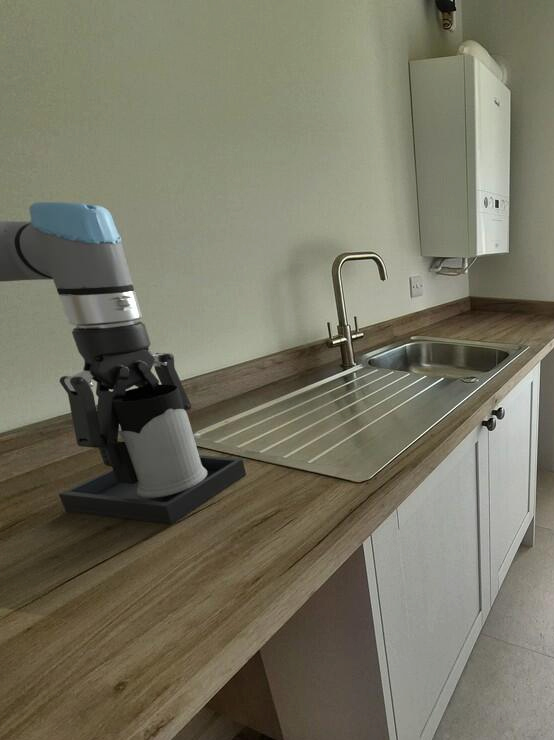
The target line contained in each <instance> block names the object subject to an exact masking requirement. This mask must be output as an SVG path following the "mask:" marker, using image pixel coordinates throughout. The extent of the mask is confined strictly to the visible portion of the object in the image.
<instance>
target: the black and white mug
mask: <svg viewBox="0 0 554 740" xmlns="http://www.w3.org/2000/svg"><path fill="white" fill-rule="evenodd" d="M159 388H160V392H161V395H162V396H158V397H155V396H154V395H153V394H151V393H150V392H149V391H148V390H147V389H145V388H144V387H139V388H138V387H135V388H129V389H126V393H125V396H124V397H123V398H122V402H121V401H114V400H112V402H113V405H114V408H115V411H116V414H117V416H118V419H119V431H118V436H120V438H121V439H122V442H125V444H126V447H127V450H128V453H129V456H130V459H131V462H132V465H133V468H134V471H135V473H136V476H137V479H138V488H137V493H138V495H139V496H142V497H146V498H154V497H162V496H167V495H172V494H175V493H178V492H181V491H184V490H186V489H189V488H191V487H193V486H194V485H196V484H198V483H199V482H201V481H202V480H203V479H204V478H205V477H206V476H207V470H206V469H205V468H204V467H203V466H202V464H201V461H200V457H199V455H200V454H199V451H198V447H197V444H196V441H195V437H194V434H193V430H192V426H191V422H190V418H189V415H188V413H187V410H186V411H185V410H184V406H183V403H182V399H181V396H180V392H179V389H178V386H176V385H171V384H161V383H160V384H159Z"/></svg>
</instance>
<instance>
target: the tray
mask: <svg viewBox="0 0 554 740" xmlns="http://www.w3.org/2000/svg"><path fill="white" fill-rule="evenodd" d="M199 457H200V461H201V464H202V466H203V467H204V468H205V469H206V470H207V476H206V477H205V478H204V479H203V480H202V481H201V482H199V483H198V484H196V485H194V486H193V487H191V488H189V489H186V490H184V491H181V492H178V493H175V494H172V495H167V496H162V497H154V498H146V497H142V496H139V495H138V493H137V488H138V482H136V483H134V484H126V483H118V482H117V479H116V476H115V474H114V471H113V468H110V469H109V470H107V471H104V472H102V473H100V474H98V475H96V476H93V477H92V478H90V479H87V480H85V481H83V482H81V483H79V484H76V485H74V486H73V487H70V488H68V489H66V490H64V491H62V492H60V493H58V496H59V498H60V501H61V503H62V506H63V509H64V510H65V513H74V514H81V515H89V516H99V517H107V518H115V519H123V520H132V521H139V522H146V523H156V524H163V525H173V524H175V523H176V522H178V521H179V520H181V519H182V518H184V517H185V516H187V515H188V514H190V513H192V512H193V511H194V510H196V509H197V508H199V507H201V506H202V505H203V504H205V503H206V502H208V501H209V500H211V499H212V498H214V497H215V496H217V495H219V494H220V493H221V492H223V491H224V490H226V489H227V488H229V487H230V486H231V485H233V484H235V483H236V482H237V481H239V480H240V479H242V478H244V477H245V476H246V475H247V471H246V468H245V464H244V460H243V458H237V457H224V456H215V455H204V454H199Z"/></svg>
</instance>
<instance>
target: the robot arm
mask: <svg viewBox="0 0 554 740" xmlns="http://www.w3.org/2000/svg"><path fill="white" fill-rule="evenodd" d="M28 211H29V216H30V221H18V220H17V221H13V220H11V221H10V220H9V221H8V220H0V283H3V282H16V281H18V282H20V281H35V280H37V281H38V280H42V281H43V280H47V281H48V280H53V283H54V286H55V288H56V291H57V294H58V297H59V301H60V303H61V306H62V309H63V312H64V315H65V319H66V321H67V323H68V324H69V325H71V326H75V327H74V328H73V329H72V331H71V334H72V337H73V340H74V343H75V347H76V349H77V351H78V353H79V355H80V356H81V357H82V359H83V361H84V363H83V364H84V365H83V368H82V369H83V370H82V371H79V372H78V373H75V374H73V375H63V376H61V377H60V378H59V383H60V385H61V386H62V388H63V389H64V390H65V392H66V393H67V397H68V402H69V407H70V413H71V418H72V424H73V429H74V434H75V440H76V444H77V446H78V447H81V448H94V449H96V448H98V450H99V453H100V456H101V458H102V461H103V464H104V465H105V466H106V467H111V469H113V471H114V474H115V476H116V479H117V482H118V483H126V484H134V483H136V482H138V479H137V476H136V473H135V471H134V468H133V465H132V462H131V459H130V456H129V453H128V450H127V447H126V444H125V442H124V441H118V439H119V434H118V431H119V419H118V416H117V414H116V411H115V408H114V405H113V402H112V400H114V401H121V402H122V398H123V397H124V396H125V393H126V391H127V390H130V389H132V387H134V386H135V388H139V387H144V388H145V389H147V390H148V391H149V392H150V393H151V394H153V395H154V396H155V397H158V396H162V395H161V392H160V388H159V385H161V384H171V385H176V386H178V389H179V392H180V396H181V399H182V403H183V406H184V410H185V411H186V412H187V411H190V410H191V408H192V404H191V401H190V399H189V397H188V395H187V393H186V391H185V388H184V386H183V383H182V381H181V379H180V376H179V374H178V372H177V369H176V368H175V356H174V354H173V353H166V352H164V353H163V352H156V353H153V352H152V351H151V350H150V349H149V347H150V346H151V341H150V337H149V334H148V331H147V327H146V324H145V323H143V322H142V321H139V320H141V318H143V314H142V310H141V307H140V304H139V300H138V297H137V293H136V290H135V287H134V282H133V280H132V279H133V278H132V276H131V272H130V268H129V265H128V262H127V258H126V254H125V251H124V247H123V244H122V237H121V236H120V234H119V232H118V230H117V227H116V224H115V221H114V219H113V216H112V214H111V212H110V211H109V210H108V208H106V207H104V206H101V205H98V204H91V203H82V202H81V203H79V202H65V201H64V202H59V201H38V202H33V203H32V204H31V205H29V209H28ZM153 367H154V371H155V373H156V375H155V374H154V373H153V371H152V369H153ZM156 376H157V377H158V378H157V377H156ZM92 380H93V381H94V382H96V387H95V388H96V389H95V394H96V396H97V406H96V400H95V395H94V391H93V389H92V387H94V383H93V382H92Z"/></svg>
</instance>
